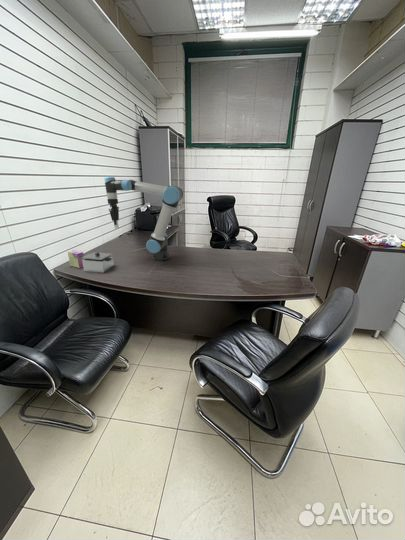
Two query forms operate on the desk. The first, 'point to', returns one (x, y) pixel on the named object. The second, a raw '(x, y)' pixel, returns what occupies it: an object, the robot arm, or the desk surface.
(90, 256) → the lid
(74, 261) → the box
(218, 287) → the desk surface
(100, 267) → the grey boxy piece
